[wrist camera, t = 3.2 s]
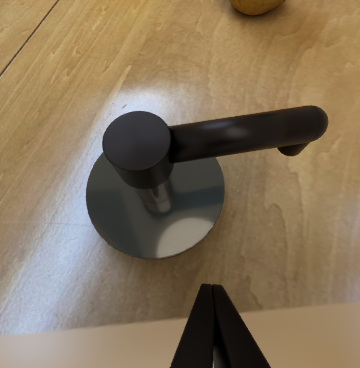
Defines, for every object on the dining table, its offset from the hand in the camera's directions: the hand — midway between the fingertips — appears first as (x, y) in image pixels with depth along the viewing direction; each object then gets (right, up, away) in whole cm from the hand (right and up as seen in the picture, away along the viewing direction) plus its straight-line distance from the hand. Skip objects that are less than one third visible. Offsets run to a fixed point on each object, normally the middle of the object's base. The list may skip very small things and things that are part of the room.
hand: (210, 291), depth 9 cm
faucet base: (-3, +4, +11) cm, 12 cm away
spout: (+1, +6, +7) cm, 9 cm away
